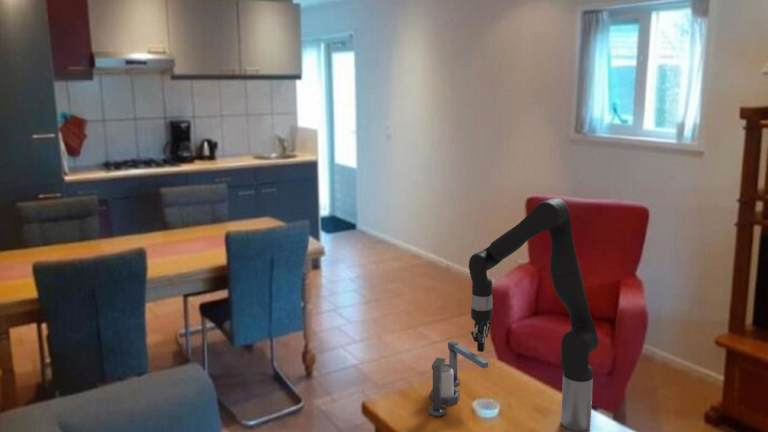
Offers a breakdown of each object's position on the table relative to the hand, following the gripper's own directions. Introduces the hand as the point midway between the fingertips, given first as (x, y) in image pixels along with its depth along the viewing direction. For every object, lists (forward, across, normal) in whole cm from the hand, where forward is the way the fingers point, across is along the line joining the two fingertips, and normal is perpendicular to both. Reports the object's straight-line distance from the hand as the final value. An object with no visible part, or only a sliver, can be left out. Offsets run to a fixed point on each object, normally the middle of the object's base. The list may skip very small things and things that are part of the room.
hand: (480, 351), depth 225 cm
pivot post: (+16, 0, -11) cm, 19 cm away
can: (+16, +12, -8) cm, 22 cm away
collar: (+16, +12, -8) cm, 21 cm away
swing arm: (+1, +4, -3) cm, 5 cm away
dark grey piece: (+16, +22, -6) cm, 28 cm away
